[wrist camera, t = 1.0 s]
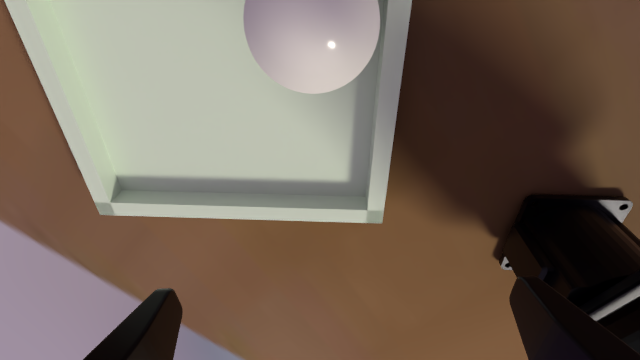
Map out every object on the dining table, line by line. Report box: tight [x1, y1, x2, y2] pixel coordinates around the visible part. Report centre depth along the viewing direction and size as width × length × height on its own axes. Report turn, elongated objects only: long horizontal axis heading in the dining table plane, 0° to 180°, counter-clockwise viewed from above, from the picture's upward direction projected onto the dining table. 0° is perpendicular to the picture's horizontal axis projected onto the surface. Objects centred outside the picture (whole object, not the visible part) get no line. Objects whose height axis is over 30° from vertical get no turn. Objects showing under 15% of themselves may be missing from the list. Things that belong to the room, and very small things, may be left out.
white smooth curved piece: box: [243, 0, 380, 94], centre depth 14 cm, size 4×4×6 cm
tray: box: [4, 0, 412, 223], centre depth 18 cm, size 18×16×2 cm
